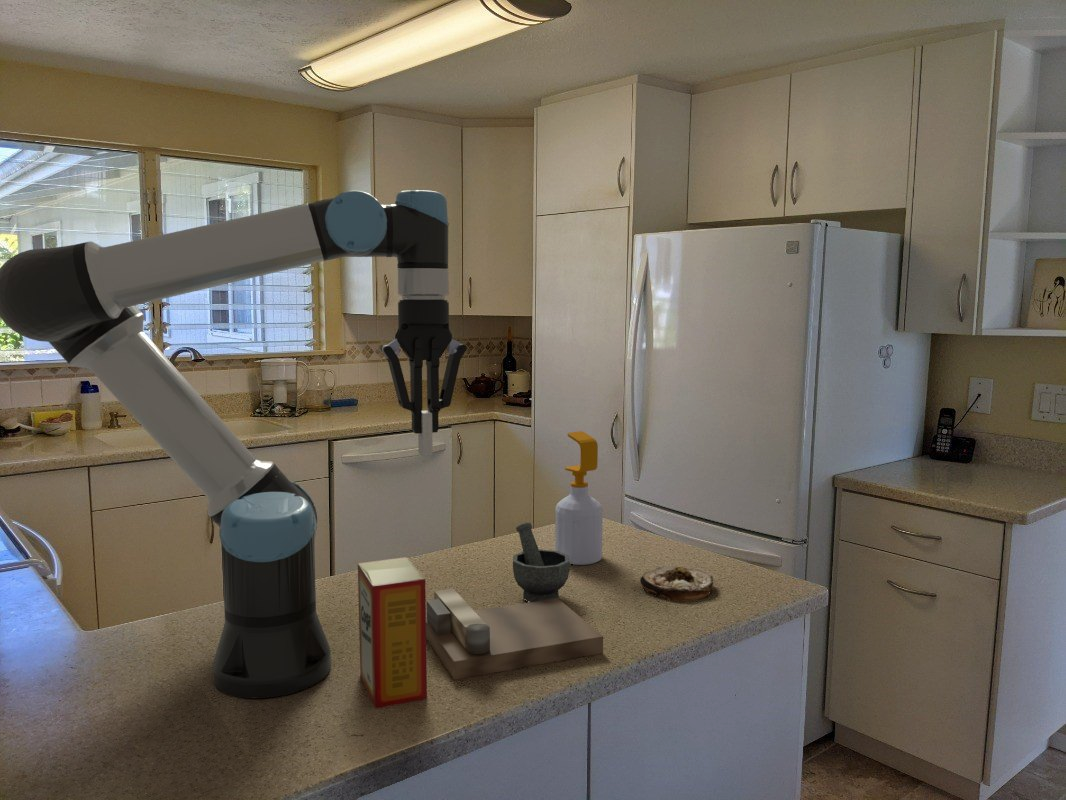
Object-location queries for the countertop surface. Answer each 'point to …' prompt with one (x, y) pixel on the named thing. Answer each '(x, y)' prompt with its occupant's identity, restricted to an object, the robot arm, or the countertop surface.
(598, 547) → the soap bottle
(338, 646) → the countertop surface
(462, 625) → the hinged leg
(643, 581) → the sushi roll
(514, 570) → the mortar and pestle
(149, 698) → the countertop surface
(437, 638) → the stool seat
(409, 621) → the baking soda box
